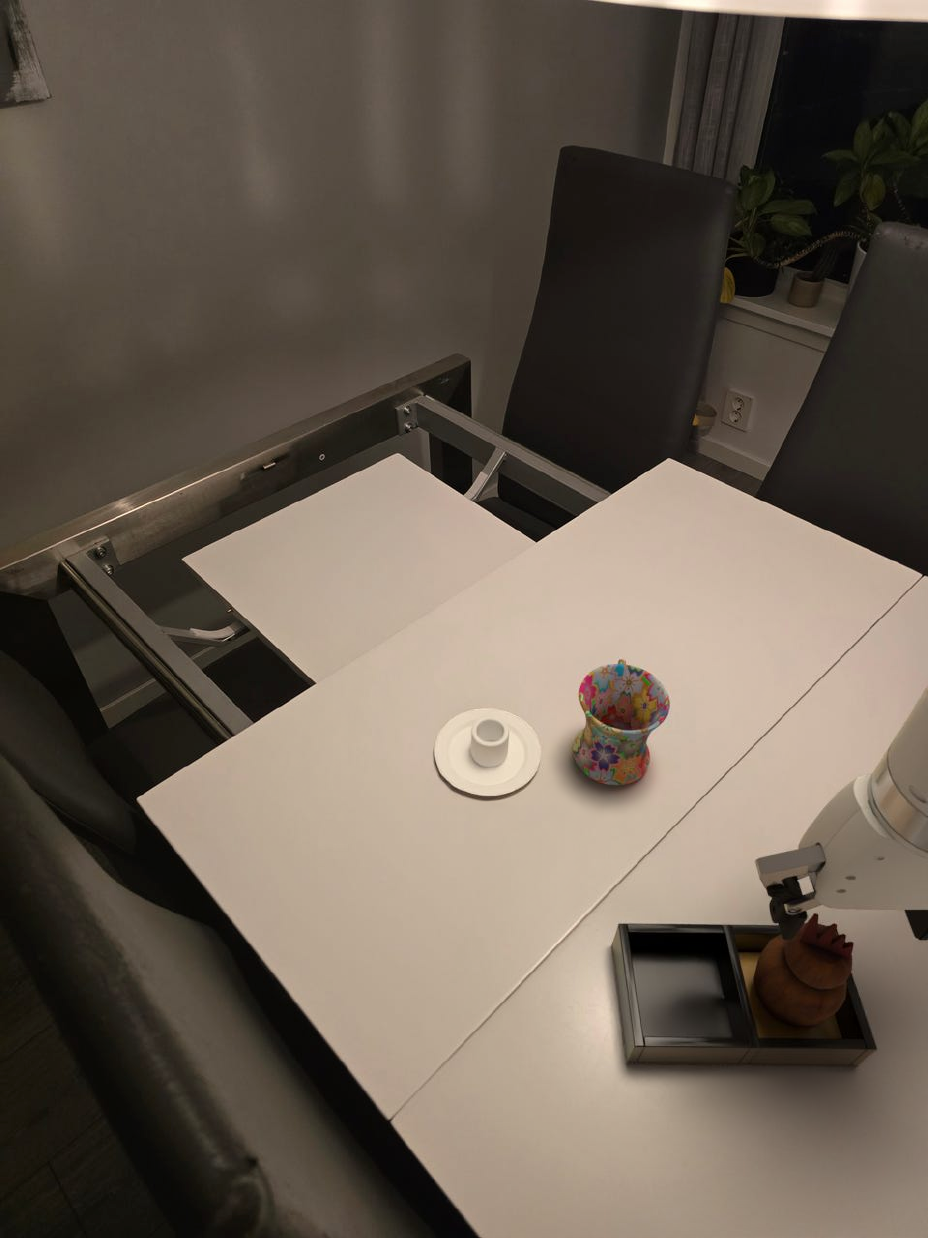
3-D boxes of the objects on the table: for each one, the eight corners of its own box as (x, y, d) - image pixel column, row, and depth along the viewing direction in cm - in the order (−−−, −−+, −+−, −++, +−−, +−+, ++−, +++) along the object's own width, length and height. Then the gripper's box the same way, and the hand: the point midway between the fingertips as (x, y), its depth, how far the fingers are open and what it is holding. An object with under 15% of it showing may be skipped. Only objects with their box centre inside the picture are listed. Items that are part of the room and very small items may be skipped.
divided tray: (819, 947, 73) (836, 925, 70) (857, 1067, 66) (877, 1049, 62) (611, 944, 73) (618, 923, 70) (626, 1064, 66) (634, 1046, 63)
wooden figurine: (732, 994, 69) (781, 919, 58) (765, 948, 72) (818, 869, 61) (803, 1054, 66) (869, 986, 55) (835, 1003, 69) (903, 929, 58)
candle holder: (434, 801, 84) (433, 778, 81) (433, 713, 92) (433, 689, 89) (546, 798, 84) (549, 775, 81) (535, 710, 93) (537, 687, 90)
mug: (652, 798, 84) (671, 738, 77) (566, 786, 85) (576, 726, 78) (651, 711, 93) (667, 650, 85) (572, 702, 94) (582, 640, 86)
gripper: (1059, 743, 48) (943, 873, 61) (778, 743, 49) (719, 873, 61) (1130, 854, 43) (987, 973, 55) (815, 853, 43) (742, 972, 56)
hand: (847, 920), depth 58 cm, fingers open, 9 cm apart
